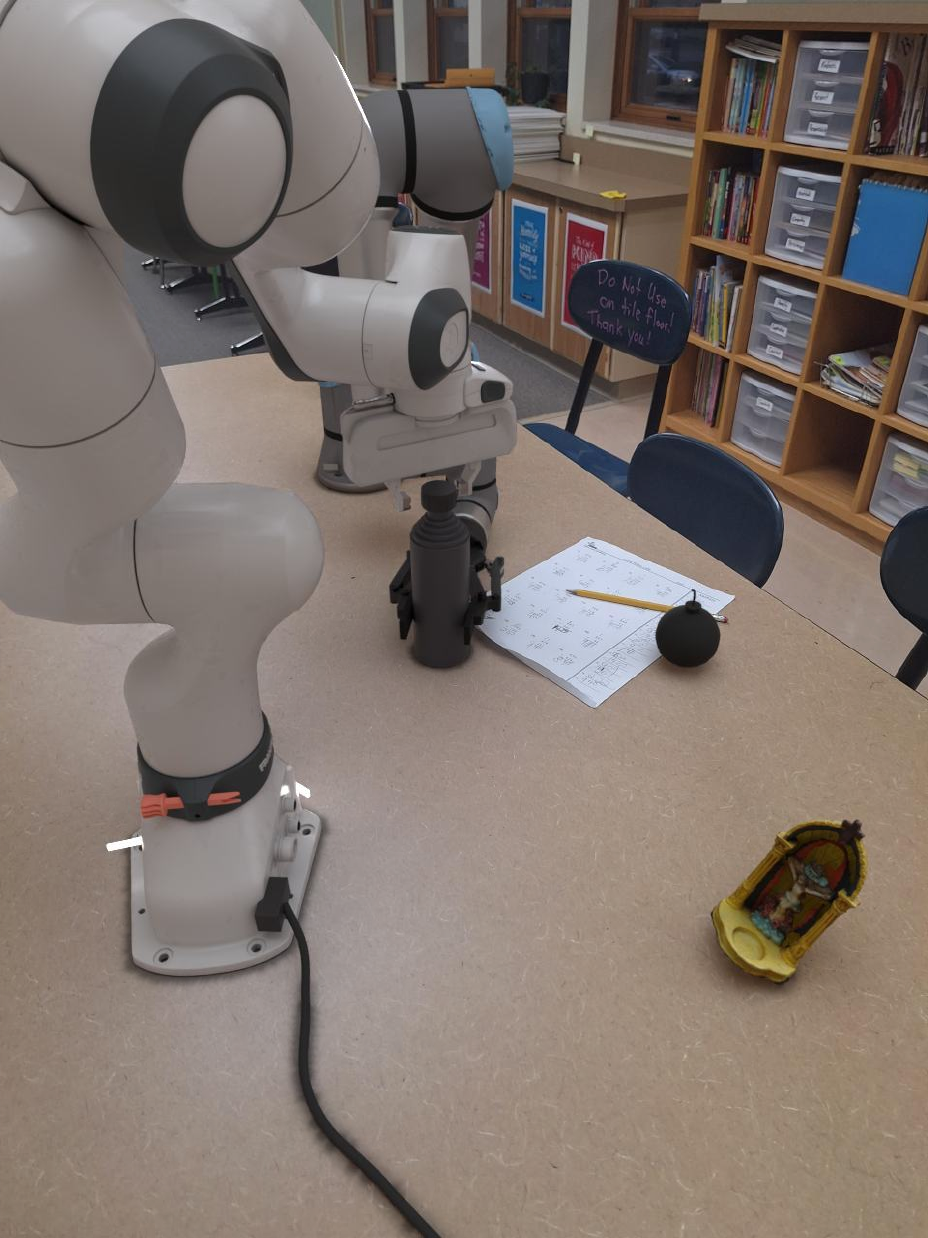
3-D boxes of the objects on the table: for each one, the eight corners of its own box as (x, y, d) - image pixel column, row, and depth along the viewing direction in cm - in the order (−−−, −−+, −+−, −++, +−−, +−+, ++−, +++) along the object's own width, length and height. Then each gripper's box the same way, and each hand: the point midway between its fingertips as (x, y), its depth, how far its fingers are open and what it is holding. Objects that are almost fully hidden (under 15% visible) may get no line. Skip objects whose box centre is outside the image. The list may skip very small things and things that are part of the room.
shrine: (791, 892, 81) (830, 781, 73) (851, 966, 75) (901, 853, 66) (686, 929, 78) (714, 817, 69) (739, 1009, 72) (776, 896, 63)
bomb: (664, 635, 115) (676, 558, 108) (722, 654, 111) (739, 576, 104) (642, 667, 109) (654, 588, 102) (703, 688, 106) (720, 608, 99)
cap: (422, 495, 101) (422, 479, 100) (457, 496, 101) (457, 479, 100) (420, 512, 98) (419, 495, 97) (455, 513, 98) (455, 496, 97)
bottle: (471, 667, 110) (471, 506, 96) (414, 669, 109) (407, 508, 96) (468, 633, 115) (468, 477, 102) (414, 635, 115) (407, 478, 102)
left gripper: (349, 414, 86) (359, 534, 94) (526, 380, 93) (521, 494, 102) (328, 393, 91) (339, 509, 99) (498, 362, 98) (496, 472, 106)
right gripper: (530, 566, 124) (516, 664, 106) (394, 556, 126) (356, 650, 108) (533, 520, 120) (518, 614, 101) (391, 511, 122) (351, 601, 104)
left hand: (433, 501), depth 100 cm, fingers open, 6 cm apart
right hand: (434, 633), depth 105 cm, fingers closed on bottle, 7 cm apart
